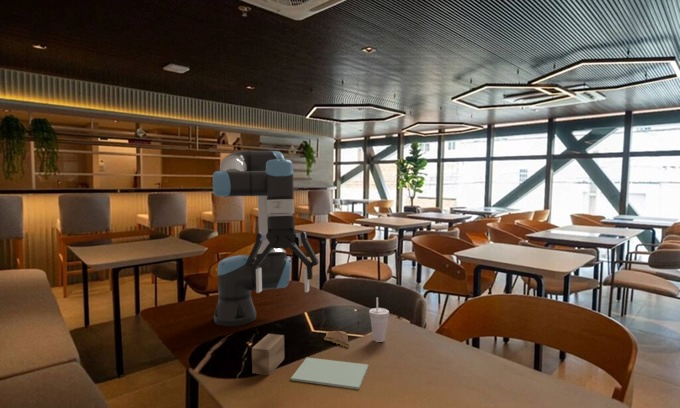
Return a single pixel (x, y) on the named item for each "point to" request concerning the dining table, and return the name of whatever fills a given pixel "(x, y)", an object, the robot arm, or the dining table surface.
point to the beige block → (268, 354)
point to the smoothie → (378, 322)
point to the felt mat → (331, 373)
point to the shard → (337, 337)
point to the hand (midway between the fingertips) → (283, 291)
